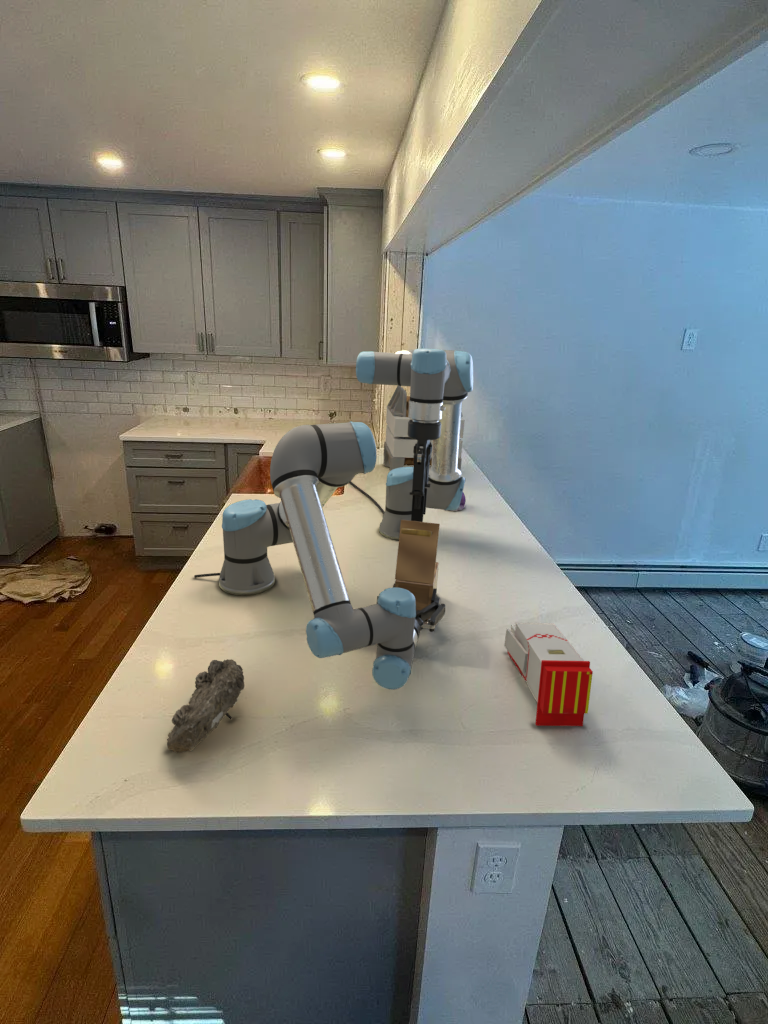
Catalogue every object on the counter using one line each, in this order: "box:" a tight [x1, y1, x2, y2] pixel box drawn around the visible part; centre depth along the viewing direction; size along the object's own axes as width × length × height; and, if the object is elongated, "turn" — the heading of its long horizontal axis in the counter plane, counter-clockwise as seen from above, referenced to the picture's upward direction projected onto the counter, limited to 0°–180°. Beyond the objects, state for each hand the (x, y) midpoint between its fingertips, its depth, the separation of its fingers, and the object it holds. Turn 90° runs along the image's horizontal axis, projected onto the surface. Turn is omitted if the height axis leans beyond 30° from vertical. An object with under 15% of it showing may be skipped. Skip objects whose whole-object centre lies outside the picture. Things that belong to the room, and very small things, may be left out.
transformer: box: [383, 385, 465, 472], centre depth 268 cm, size 34×33×41 cm
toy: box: [503, 622, 594, 727], centre depth 121 cm, size 12×13×30 cm
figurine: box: [450, 492, 467, 512], centre depth 226 cm, size 9×10×15 cm
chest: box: [394, 561, 440, 621], centre depth 151 cm, size 14×10×10 cm
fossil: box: [166, 658, 245, 754], centre depth 106 cm, size 22×10×15 cm
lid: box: [394, 520, 441, 584], centre depth 138 cm, size 15×10×9 cm
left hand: (415, 590), depth 147 cm, fingers closed on chest, 10 cm apart
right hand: (418, 516), depth 136 cm, fingers open, 4 cm apart
